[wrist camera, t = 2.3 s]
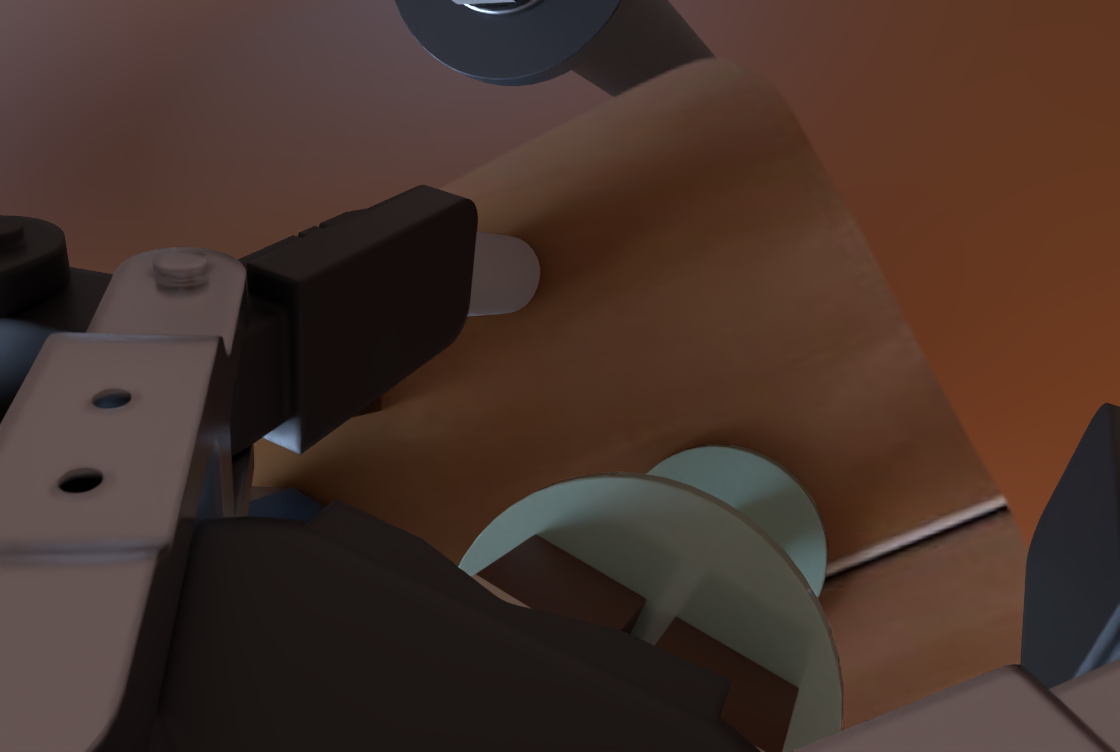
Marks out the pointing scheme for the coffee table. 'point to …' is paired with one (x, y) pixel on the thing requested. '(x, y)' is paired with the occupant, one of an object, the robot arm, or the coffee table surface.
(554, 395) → the coffee table surface
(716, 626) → the cake stand
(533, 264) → the beverage can
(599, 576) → the cake
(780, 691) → the cake slice
